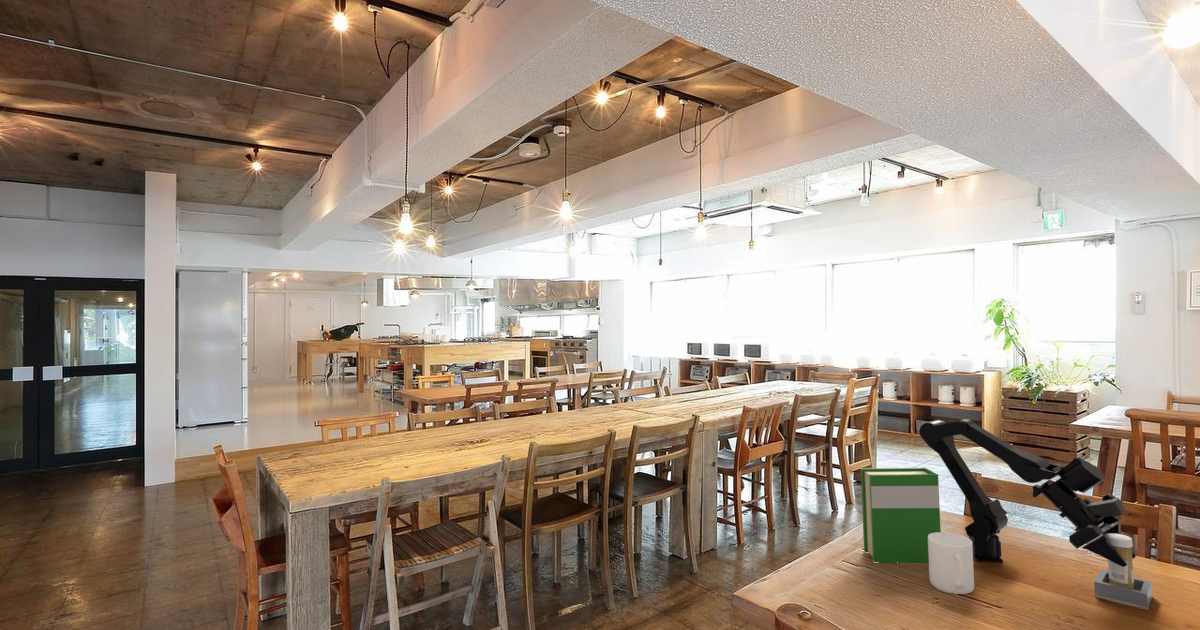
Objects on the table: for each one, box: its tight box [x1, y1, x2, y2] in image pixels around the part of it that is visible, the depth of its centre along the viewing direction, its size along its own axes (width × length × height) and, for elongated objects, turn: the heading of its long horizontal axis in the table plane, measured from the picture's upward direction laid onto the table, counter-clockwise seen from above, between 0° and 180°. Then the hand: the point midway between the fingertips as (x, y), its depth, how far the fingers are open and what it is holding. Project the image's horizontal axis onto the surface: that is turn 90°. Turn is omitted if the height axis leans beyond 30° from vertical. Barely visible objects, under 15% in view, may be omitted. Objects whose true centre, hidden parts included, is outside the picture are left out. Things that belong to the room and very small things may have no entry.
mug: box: [928, 531, 975, 595], centre depth 140 cm, size 10×12×12 cm
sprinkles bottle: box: [1107, 533, 1135, 589], centre depth 133 cm, size 5×5×14 cm
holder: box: [1093, 569, 1154, 611], centre depth 133 cm, size 9×9×4 cm
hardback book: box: [860, 467, 942, 564], centre depth 159 cm, size 18×7×24 cm, turn 85°
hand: (1129, 561), depth 132 cm, fingers open, 7 cm apart
